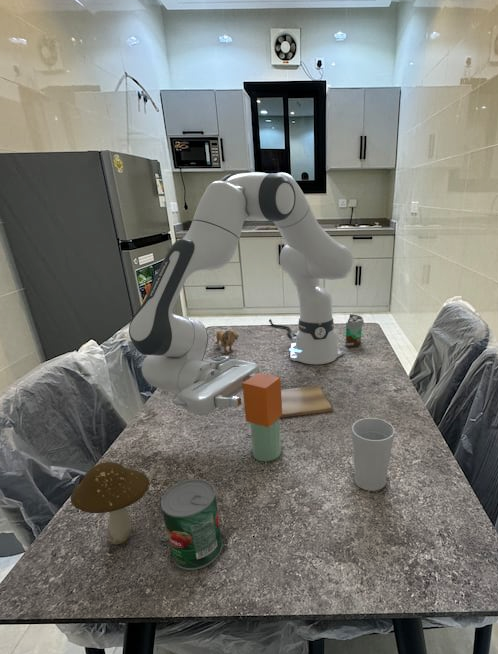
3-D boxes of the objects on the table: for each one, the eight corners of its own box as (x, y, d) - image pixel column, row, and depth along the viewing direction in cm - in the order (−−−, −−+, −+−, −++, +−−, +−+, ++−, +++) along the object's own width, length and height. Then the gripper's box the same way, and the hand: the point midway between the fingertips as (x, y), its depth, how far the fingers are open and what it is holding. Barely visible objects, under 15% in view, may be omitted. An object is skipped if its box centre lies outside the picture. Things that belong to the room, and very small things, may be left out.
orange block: (245, 421, 81) (242, 382, 77) (260, 409, 85) (257, 372, 82) (268, 427, 78) (265, 388, 75) (282, 414, 83) (280, 377, 79)
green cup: (251, 446, 88) (248, 412, 84) (278, 443, 89) (276, 409, 85) (254, 463, 82) (251, 427, 78) (283, 459, 83) (281, 423, 80)
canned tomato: (161, 561, 60) (148, 507, 55) (192, 524, 67) (182, 474, 62) (204, 577, 57) (194, 521, 53) (232, 537, 64) (225, 485, 60)
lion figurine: (242, 352, 142) (240, 329, 138) (230, 356, 138) (227, 333, 135) (220, 343, 151) (218, 321, 148) (208, 346, 148) (206, 324, 144)
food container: (361, 349, 143) (362, 323, 139) (345, 348, 144) (346, 322, 140) (364, 338, 154) (365, 314, 150) (349, 337, 155) (349, 313, 151)
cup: (343, 473, 79) (344, 423, 74) (376, 463, 81) (379, 414, 77) (362, 498, 72) (365, 445, 67) (398, 486, 75) (403, 434, 70)
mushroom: (151, 560, 60) (131, 484, 54) (76, 565, 60) (48, 489, 54) (167, 516, 69) (152, 446, 63) (102, 520, 68) (80, 450, 62)
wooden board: (272, 393, 111) (272, 390, 111) (319, 388, 114) (319, 385, 114) (279, 418, 99) (279, 414, 98) (332, 411, 102) (332, 407, 101)
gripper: (164, 387, 77) (218, 401, 71) (228, 352, 93) (277, 362, 87) (169, 414, 79) (222, 430, 73) (231, 376, 96) (278, 386, 90)
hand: (252, 393), depth 81 cm, fingers open, 8 cm apart
